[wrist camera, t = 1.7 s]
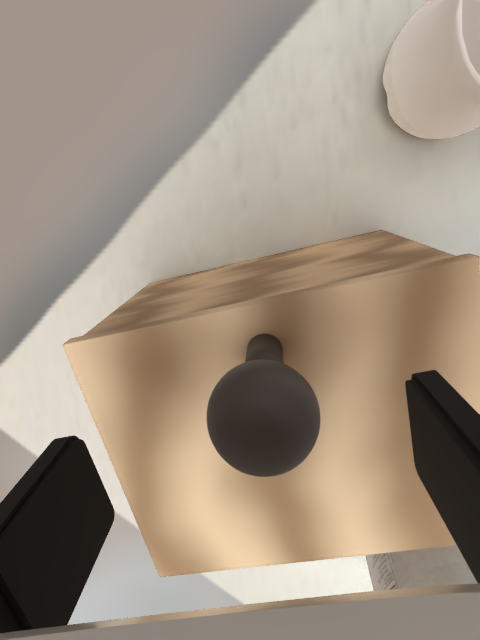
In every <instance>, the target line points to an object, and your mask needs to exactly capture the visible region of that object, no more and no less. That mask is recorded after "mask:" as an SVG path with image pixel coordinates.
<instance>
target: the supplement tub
mask: <svg viewBox="0 0 480 640" xmlns="http://www.w3.org/2000/svg"><path fill="white" fill-rule="evenodd" d="M365 556H366V560H367V564H368V568H369V573H370V577H371V581H372V585H373V589H374V591H382V590H394V589H405V588H416V587H428V586H439V585H453V584H478V583H477V581H476V579H475V577H474V575H473V574H472V572H471V570H470V568H469V566H468V565H467V563H466V561H465V559H464V557H463V556H462V554H461V552H460V550H459V548H458V547H457V545H454V546H445V547H436V548H426V549H417V550H408V551H398V552H389V553H380V554H370V555H365Z"/></svg>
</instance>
